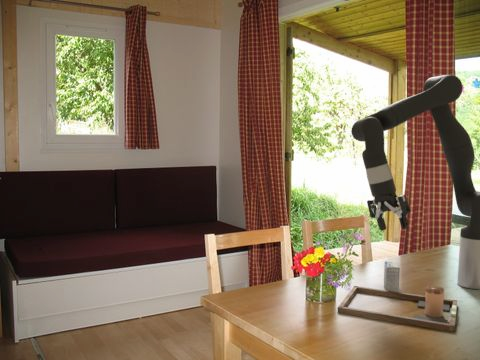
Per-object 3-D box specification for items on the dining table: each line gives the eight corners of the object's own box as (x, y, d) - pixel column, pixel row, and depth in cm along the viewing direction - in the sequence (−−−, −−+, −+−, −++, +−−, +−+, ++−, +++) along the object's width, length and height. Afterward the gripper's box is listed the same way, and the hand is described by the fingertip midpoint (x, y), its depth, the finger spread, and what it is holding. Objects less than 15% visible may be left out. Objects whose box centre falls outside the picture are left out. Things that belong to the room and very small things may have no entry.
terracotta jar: (425, 310, 155) (426, 284, 154) (442, 313, 153) (444, 287, 152) (423, 315, 150) (425, 289, 150) (442, 318, 148) (443, 291, 147)
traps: (419, 301, 163) (419, 299, 163) (449, 305, 159) (449, 304, 159) (412, 323, 145) (412, 321, 145) (446, 328, 141) (446, 326, 141)
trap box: (354, 290, 173) (354, 283, 172) (456, 305, 159) (457, 298, 159) (337, 312, 152) (338, 304, 152) (454, 331, 139) (454, 323, 139)
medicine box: (399, 293, 171) (400, 267, 170) (385, 292, 172) (386, 266, 171) (396, 286, 178) (397, 261, 177) (383, 285, 179) (384, 260, 178)
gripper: (406, 173, 157) (420, 224, 158) (371, 179, 169) (384, 226, 169) (390, 179, 153) (405, 231, 153) (356, 185, 165) (369, 233, 165)
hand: (394, 229), depth 161 cm, fingers open, 8 cm apart
